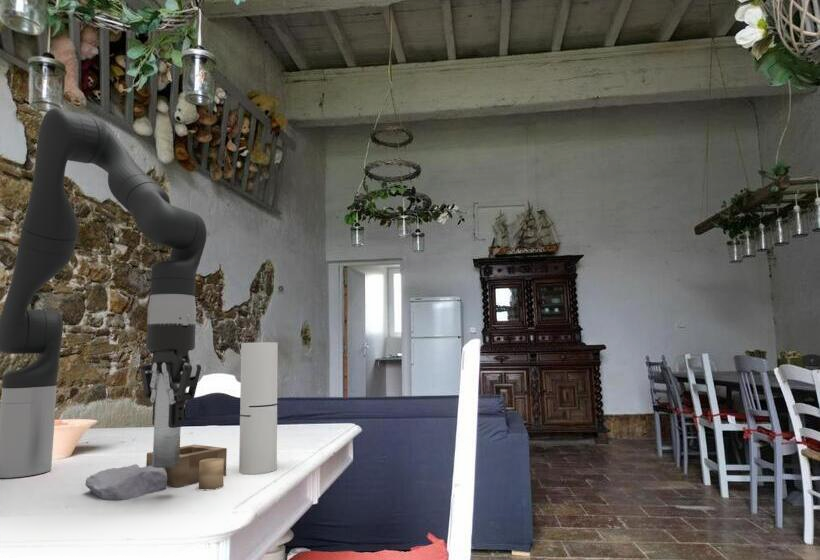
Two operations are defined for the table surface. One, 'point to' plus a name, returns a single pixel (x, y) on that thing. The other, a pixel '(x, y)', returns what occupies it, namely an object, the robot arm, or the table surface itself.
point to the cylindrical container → (258, 408)
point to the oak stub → (211, 473)
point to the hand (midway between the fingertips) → (167, 425)
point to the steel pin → (164, 429)
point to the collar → (190, 463)
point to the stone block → (127, 482)
